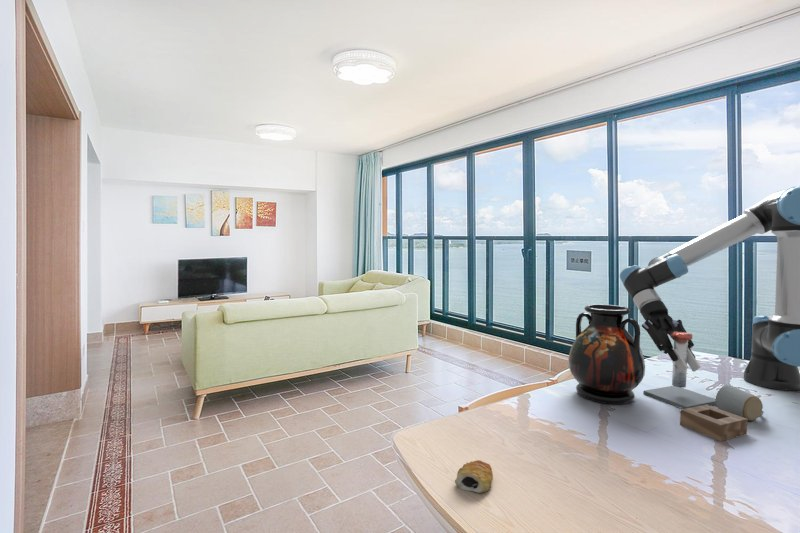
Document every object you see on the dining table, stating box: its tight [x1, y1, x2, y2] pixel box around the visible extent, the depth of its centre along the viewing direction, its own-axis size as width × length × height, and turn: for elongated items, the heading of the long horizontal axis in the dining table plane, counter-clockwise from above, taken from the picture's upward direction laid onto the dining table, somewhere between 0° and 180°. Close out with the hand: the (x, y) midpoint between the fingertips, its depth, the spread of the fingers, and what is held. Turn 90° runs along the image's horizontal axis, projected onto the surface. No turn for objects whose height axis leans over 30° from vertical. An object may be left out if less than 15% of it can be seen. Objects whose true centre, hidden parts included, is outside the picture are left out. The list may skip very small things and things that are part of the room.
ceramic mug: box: [715, 384, 764, 422], centre depth 118 cm, size 11×8×8 cm
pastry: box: [454, 459, 494, 494], centre depth 86 cm, size 9×7×4 cm
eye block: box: [679, 405, 748, 442], centre depth 109 cm, size 10×10×4 cm
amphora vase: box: [567, 304, 646, 405], centre depth 132 cm, size 22×22×28 cm
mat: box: [643, 385, 716, 409], centre depth 131 cm, size 14×14×1 cm
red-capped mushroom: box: [669, 332, 693, 389], centre depth 130 cm, size 6×6×16 cm
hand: (690, 369), depth 127 cm, fingers closed on red-capped mushroom, 3 cm apart
